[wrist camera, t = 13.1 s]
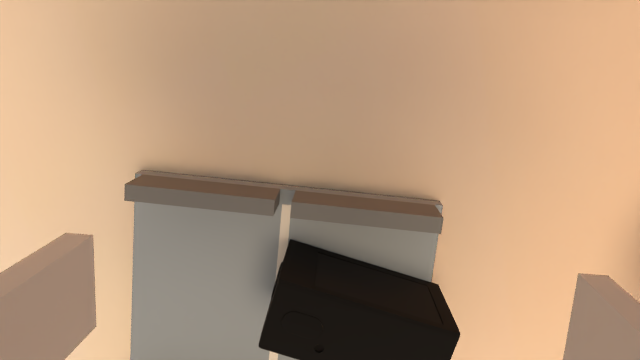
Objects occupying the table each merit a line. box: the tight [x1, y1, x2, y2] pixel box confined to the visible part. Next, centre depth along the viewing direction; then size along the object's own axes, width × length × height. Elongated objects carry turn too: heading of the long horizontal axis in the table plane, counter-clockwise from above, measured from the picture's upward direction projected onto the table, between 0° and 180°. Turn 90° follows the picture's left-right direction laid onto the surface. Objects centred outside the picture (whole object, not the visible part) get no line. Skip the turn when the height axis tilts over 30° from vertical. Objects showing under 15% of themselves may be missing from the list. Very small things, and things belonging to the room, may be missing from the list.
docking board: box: [124, 170, 443, 360], centre depth 36 cm, size 20×18×4 cm
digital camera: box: [259, 239, 460, 360], centre depth 33 cm, size 10×5×7 cm, turn 73°
